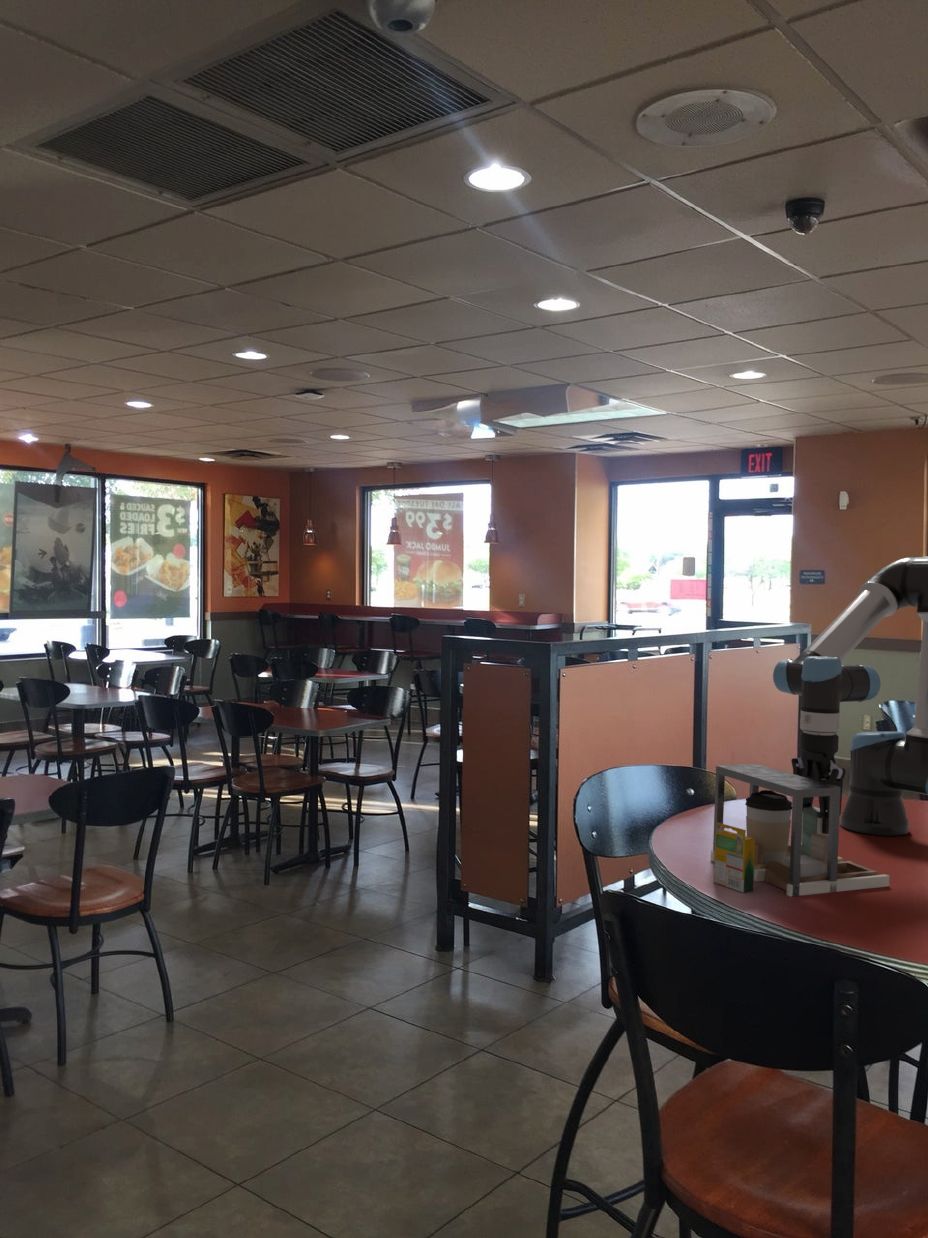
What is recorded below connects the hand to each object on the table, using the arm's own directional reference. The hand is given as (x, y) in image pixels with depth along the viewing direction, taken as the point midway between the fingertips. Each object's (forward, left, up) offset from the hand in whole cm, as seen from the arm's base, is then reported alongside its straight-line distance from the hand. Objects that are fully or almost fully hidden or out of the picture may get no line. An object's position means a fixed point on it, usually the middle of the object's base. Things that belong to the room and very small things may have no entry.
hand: (814, 845), depth 201 cm
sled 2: (+8, +12, -4) cm, 15 cm away
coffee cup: (+12, 0, -4) cm, 12 cm away
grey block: (+13, +12, -4) cm, 18 cm away
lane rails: (+8, +5, -4) cm, 10 cm away
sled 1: (+8, 0, -4) cm, 9 cm away
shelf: (+14, +5, -4) cm, 16 cm away
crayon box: (+26, +9, -4) cm, 28 cm away
